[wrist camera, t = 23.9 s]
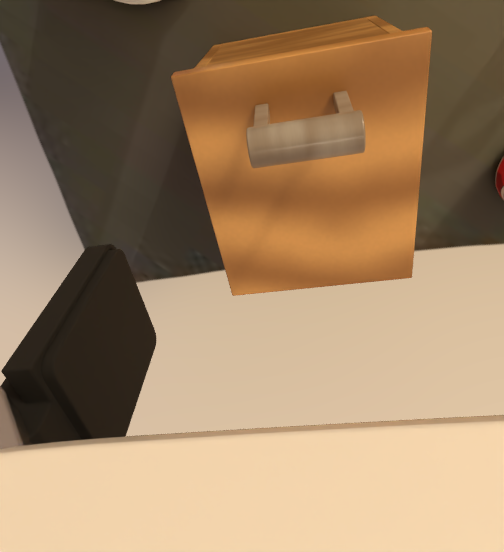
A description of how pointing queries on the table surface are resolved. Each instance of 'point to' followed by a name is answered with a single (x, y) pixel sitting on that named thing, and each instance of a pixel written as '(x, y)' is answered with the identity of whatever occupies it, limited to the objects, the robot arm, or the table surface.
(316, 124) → the bin lid
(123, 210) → the table surface
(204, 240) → the table surface
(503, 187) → the soda can
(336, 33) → the wooden bin
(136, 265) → the table surface
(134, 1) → the pudding
